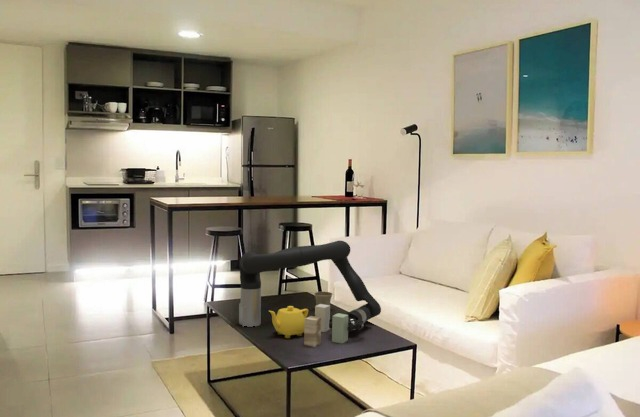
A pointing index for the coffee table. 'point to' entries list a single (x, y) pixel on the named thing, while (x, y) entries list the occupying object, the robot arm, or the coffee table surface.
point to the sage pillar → (339, 328)
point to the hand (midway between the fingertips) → (339, 327)
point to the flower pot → (323, 298)
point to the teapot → (289, 321)
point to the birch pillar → (312, 331)
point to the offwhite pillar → (323, 316)
